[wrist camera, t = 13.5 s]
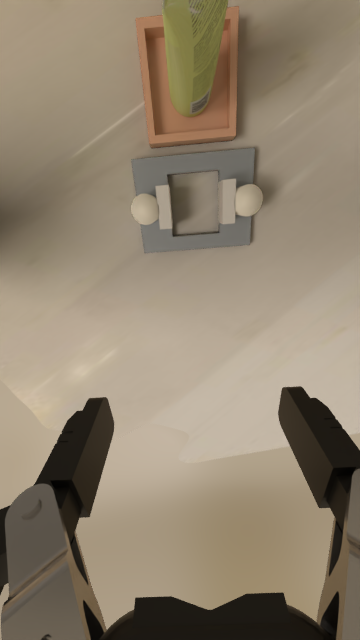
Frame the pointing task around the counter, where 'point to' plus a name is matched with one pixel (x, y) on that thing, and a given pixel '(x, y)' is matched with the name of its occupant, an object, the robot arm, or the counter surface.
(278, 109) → the counter surface
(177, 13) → the tube
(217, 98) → the tray
